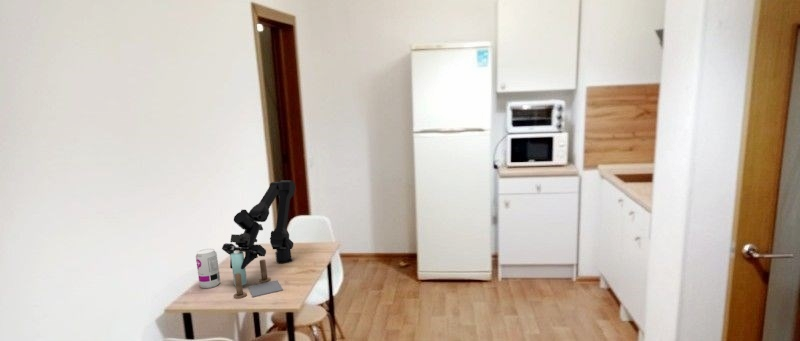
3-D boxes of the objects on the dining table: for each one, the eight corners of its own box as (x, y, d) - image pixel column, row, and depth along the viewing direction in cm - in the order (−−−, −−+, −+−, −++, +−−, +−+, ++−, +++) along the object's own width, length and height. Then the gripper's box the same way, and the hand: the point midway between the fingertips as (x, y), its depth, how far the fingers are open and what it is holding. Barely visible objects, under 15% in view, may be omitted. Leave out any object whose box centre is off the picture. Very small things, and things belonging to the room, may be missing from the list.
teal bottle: (246, 280, 194) (242, 248, 192) (247, 284, 190) (243, 251, 188) (233, 283, 192) (229, 250, 190) (235, 287, 187) (230, 253, 185)
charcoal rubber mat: (277, 280, 195) (277, 280, 195) (283, 290, 184) (283, 289, 184) (248, 287, 190) (248, 286, 190) (252, 297, 179) (252, 296, 179)
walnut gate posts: (263, 278, 199) (261, 258, 198) (273, 278, 198) (270, 258, 197) (230, 298, 180) (228, 276, 179) (241, 299, 178) (238, 277, 177)
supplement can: (200, 290, 190) (195, 255, 188) (199, 284, 198) (194, 250, 195) (221, 285, 194) (217, 251, 192) (219, 279, 201) (214, 247, 199)
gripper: (221, 225, 194) (206, 259, 185) (258, 226, 188) (244, 261, 179) (236, 237, 203) (222, 270, 194) (272, 238, 196) (259, 272, 188)
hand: (236, 268), depth 188 cm, fingers closed on teal bottle, 5 cm apart
